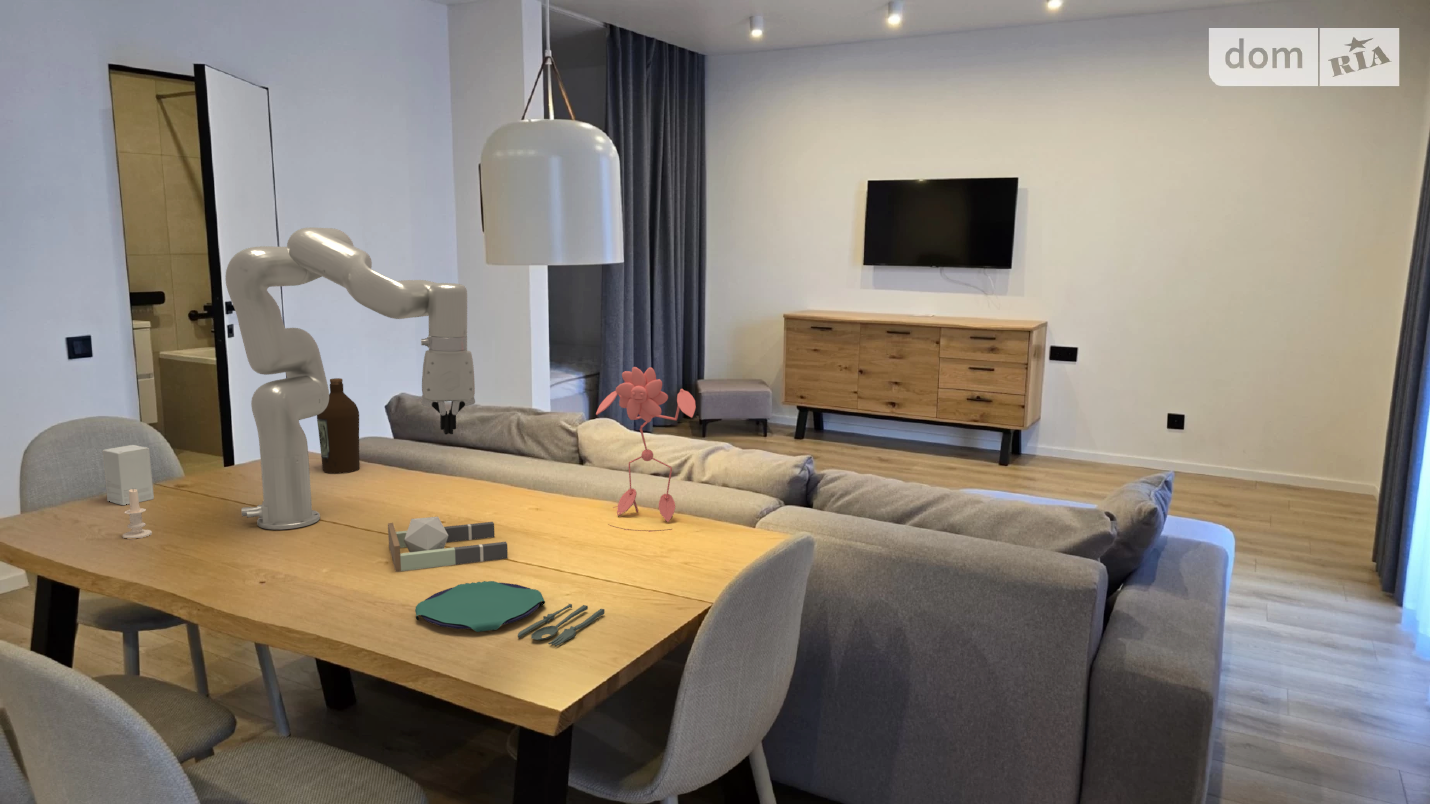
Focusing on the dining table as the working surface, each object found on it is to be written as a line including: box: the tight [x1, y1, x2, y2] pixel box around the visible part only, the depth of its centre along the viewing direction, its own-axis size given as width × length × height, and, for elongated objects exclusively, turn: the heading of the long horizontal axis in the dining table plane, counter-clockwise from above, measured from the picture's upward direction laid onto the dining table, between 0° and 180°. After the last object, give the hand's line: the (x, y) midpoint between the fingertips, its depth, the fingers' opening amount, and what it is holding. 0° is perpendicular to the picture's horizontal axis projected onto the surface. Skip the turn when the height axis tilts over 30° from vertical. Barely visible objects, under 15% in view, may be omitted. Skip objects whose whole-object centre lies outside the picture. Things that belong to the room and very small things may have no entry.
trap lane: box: [387, 521, 509, 573], centre depth 186 cm, size 21×16×5 cm
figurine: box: [595, 366, 697, 533], centre depth 205 cm, size 15×26×35 cm, turn 65°
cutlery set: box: [414, 580, 606, 647], centre depth 154 cm, size 20×30×2 cm, turn 64°
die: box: [404, 516, 448, 553], centre depth 183 cm, size 8×9×10 cm
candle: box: [122, 489, 153, 539], centre depth 194 cm, size 5×5×10 cm
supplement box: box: [101, 444, 155, 506], centre depth 220 cm, size 7×7×13 cm
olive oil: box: [316, 377, 361, 474], centre depth 251 cm, size 11×11×25 cm
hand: (448, 432), depth 191 cm, fingers closed
